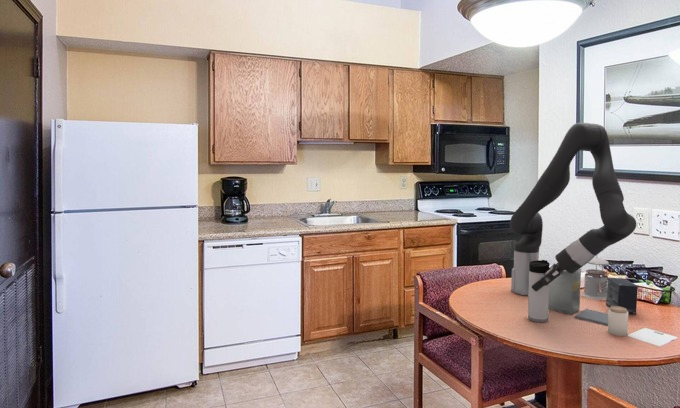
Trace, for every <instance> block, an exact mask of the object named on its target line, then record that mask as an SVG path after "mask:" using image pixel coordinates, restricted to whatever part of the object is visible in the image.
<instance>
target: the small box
mask: <svg viewBox="0 0 680 408" xmlns="http://www.w3.org/2000/svg"><path fill="white" fill-rule="evenodd" d="M606 288H607V290H606V291H607V299H605V300H606V302H605V306H607V307H608V308H609V309H610V307H611V306H620V307H624V308H626V309H627V311H628V316H629V315H633V316H637V307H638V303H637V302H638V291H639V289H638V288H639V286H638V285H636V284H635V283H634V282H632V281H630V280H629V279H627V278H625V277H624V278H622V277H621V278H620V277H609V276H607V287H606Z"/></svg>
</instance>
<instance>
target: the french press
mask: <svg viewBox="0 0 680 408" xmlns="http://www.w3.org/2000/svg"><path fill="white" fill-rule="evenodd" d="M587 264H589V265H595V269H586V270H585V272H586V273H584V285H583V287H584V288H583V289H584V290H583V292H581V293H580V296H583V297H584V298H587V299H592V300H598V301H599V300H604V301H605V300H606V299H607V278H608V271H605V270H604V267H606V269H608V266H607V265H609V261H608V260H606V259H604V258H602V257H598V256H595V257H594V258H593V259H592V260H591V261H589V262H588V263H587ZM598 266H599V267H600V268H601V269H602V270H600V269H597V267H598Z"/></svg>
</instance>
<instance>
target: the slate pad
mask: <svg viewBox="0 0 680 408" xmlns="http://www.w3.org/2000/svg"><path fill="white" fill-rule="evenodd" d="M574 319H578V320H582V321H587V322H590V323H595V324H597V325H603V326H607V327H608V312H602V311H598V310H594V309H589V308H585V309H583V310H582V311H580V312H579V313H577V314H575V315H574Z"/></svg>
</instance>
